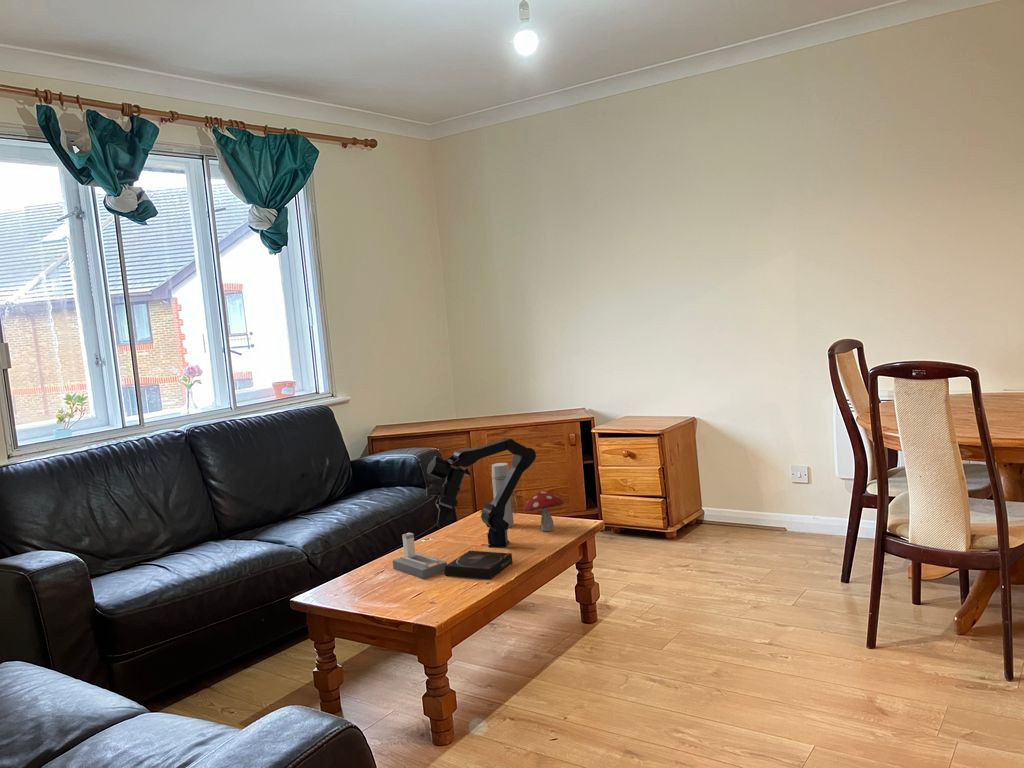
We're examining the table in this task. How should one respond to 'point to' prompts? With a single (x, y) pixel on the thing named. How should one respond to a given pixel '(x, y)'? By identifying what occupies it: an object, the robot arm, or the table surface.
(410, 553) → the breaker handle
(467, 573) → the portable cd player
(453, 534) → the table surface
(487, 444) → the robot arm
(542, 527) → the decorative mushroom
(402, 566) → the breaker housing
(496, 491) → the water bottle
